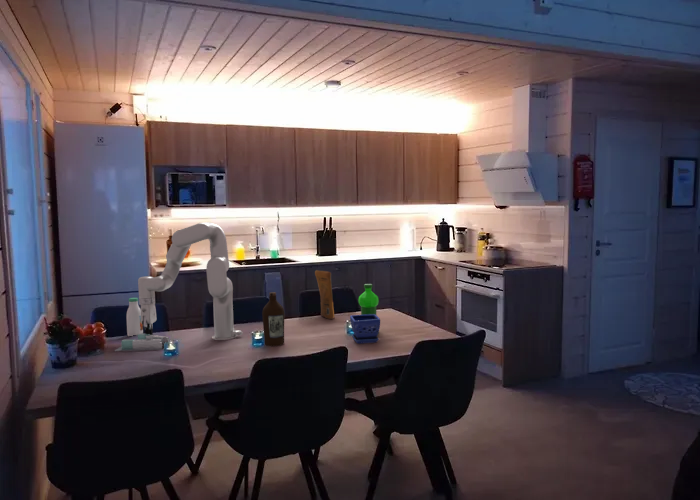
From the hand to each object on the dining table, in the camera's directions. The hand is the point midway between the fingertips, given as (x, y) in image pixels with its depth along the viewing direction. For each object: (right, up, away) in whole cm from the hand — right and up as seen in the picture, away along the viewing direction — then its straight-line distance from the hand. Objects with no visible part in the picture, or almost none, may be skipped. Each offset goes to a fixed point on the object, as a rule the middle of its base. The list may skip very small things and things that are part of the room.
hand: (149, 336), depth 279 cm
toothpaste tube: (+6, -2, -11) cm, 13 cm away
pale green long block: (+5, -3, -19) cm, 20 cm away
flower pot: (+109, 0, -12) cm, 110 cm away
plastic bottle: (+112, +1, +7) cm, 112 cm away
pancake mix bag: (+88, +4, +51) cm, 101 cm away
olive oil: (+65, -2, -14) cm, 67 cm away
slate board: (+4, -3, -12) cm, 13 cm away
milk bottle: (-12, -2, +14) cm, 18 cm away
